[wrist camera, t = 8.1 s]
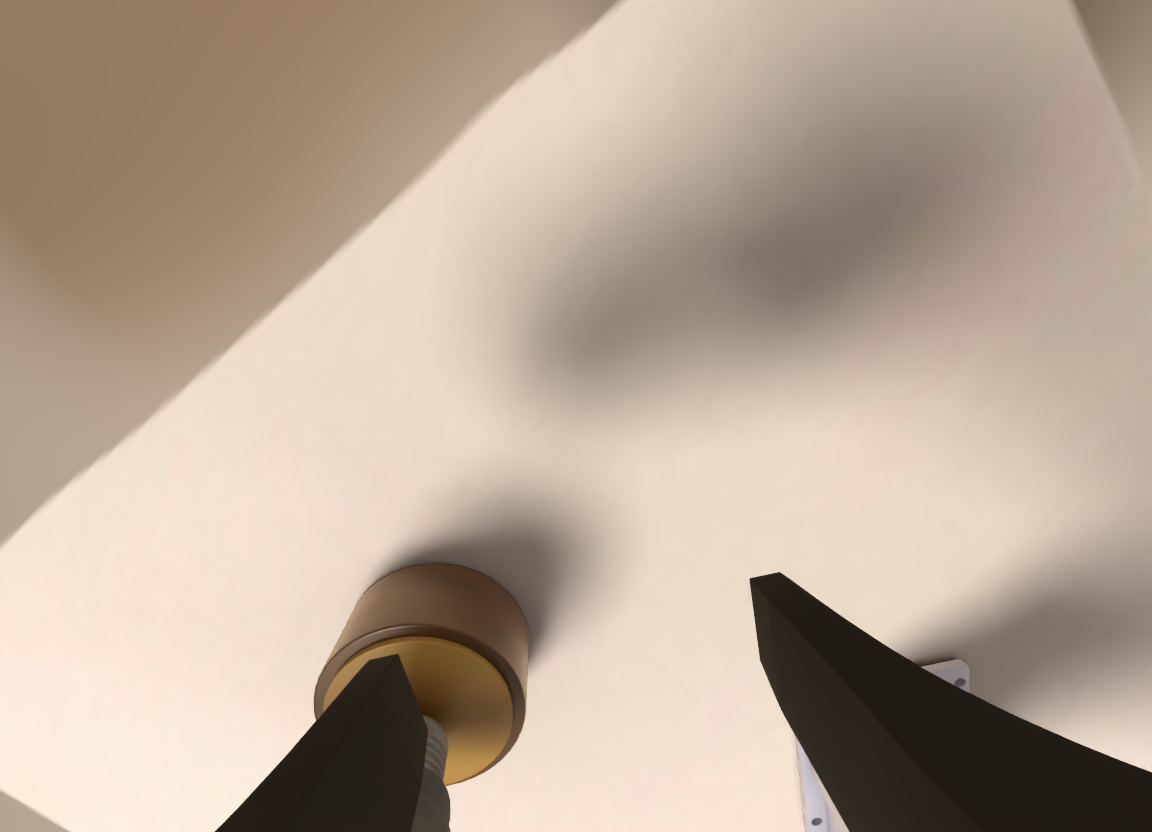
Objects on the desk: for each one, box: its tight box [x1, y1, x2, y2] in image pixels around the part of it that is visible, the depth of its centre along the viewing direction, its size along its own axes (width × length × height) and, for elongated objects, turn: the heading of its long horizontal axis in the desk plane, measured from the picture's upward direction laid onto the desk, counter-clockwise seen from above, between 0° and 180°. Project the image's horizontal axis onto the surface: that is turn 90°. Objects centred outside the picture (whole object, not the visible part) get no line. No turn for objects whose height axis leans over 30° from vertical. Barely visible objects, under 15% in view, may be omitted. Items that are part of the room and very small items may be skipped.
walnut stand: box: [314, 564, 529, 786], centre depth 21 cm, size 8×8×4 cm
